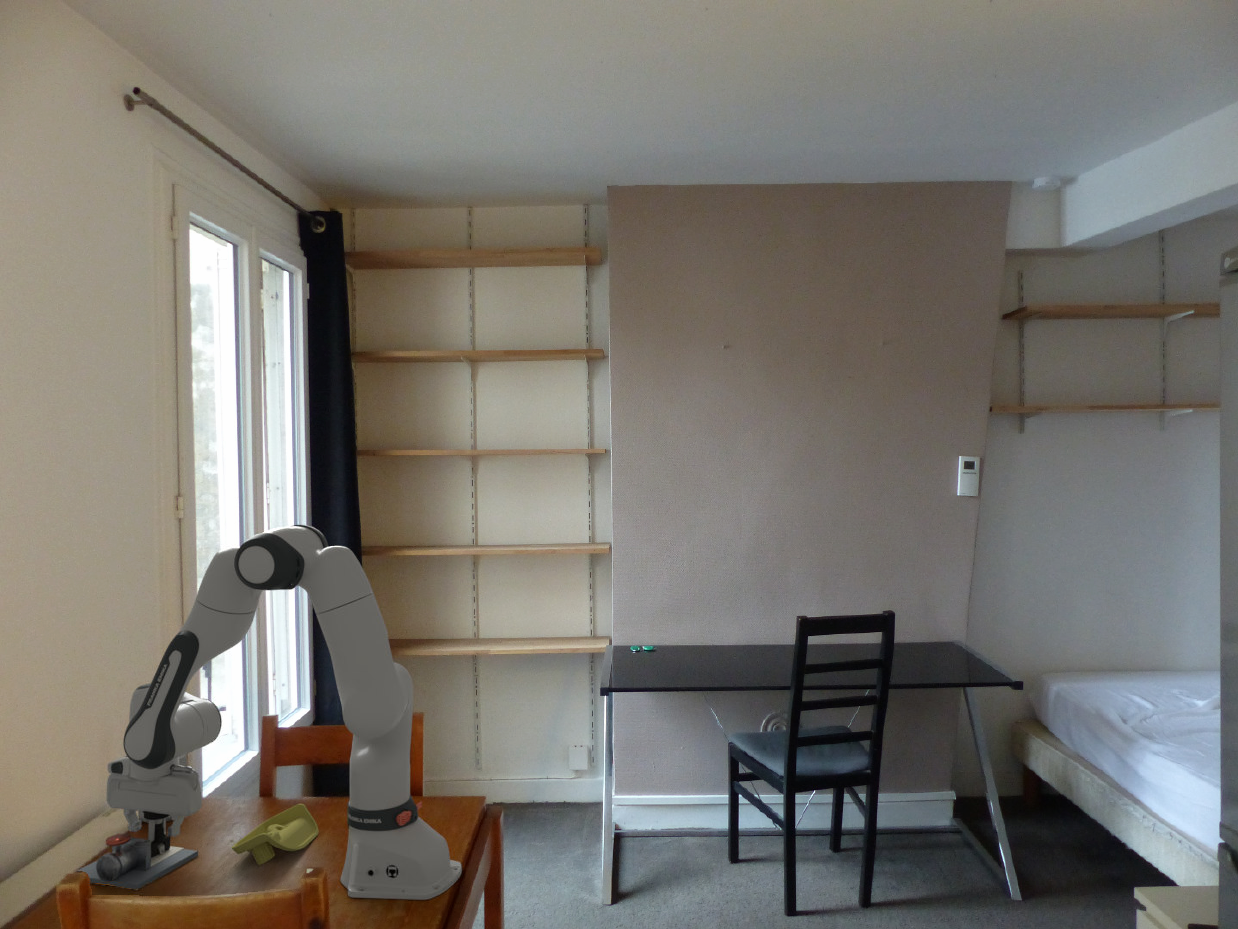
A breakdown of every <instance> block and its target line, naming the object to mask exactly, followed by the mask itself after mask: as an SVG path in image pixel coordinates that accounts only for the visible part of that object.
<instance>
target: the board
mask: <svg viewBox="0 0 1238 929" xmlns="http://www.w3.org/2000/svg"><path fill="white" fill-rule="evenodd" d="M196 856H197V857H198V856H199V850H196V849H195V850H194V849H187V848H184V847H181V846H171V845H170V849H169V850H165V851H164V853H162V854H158V855H156V856H154V857H153V858H151V869H149V870H147V871H142V870H135V869H130V870H128V871H127V872H125V873H123V874H121V875H120V876H119V877H118V878H117V879H115V880H113V881H111V882H105V881H107V880H102V879H101V878H100V877H99V876H98V874H97V870H96V864H97V861H98V859H97V860H95V861H92V863H89V864H87V865H86V866H82V867H81V868H79V869H77V870H75V871H74V872H76V871H83V872H86V873H87V874H88V876H89V878H90V882H91V883H90V884H91V885H93V884H92V883H100V884H101V883H102V884H110V885H114V886H118V887H124V888H131V889H139V888H141V887H142V886H144V885H146V884H147V883H150V884H151V883H153V882H155V881H157V880H158V879H160V878H162V877H164V876H165V875H167V874H169V873H171V872H172V871H174V870H176V869H177V868H180V867H181V866H183V865H184V864H186V863H188V862H189V861H192V860H193V859H195V858H197V857H196ZM191 859H192V860H191ZM159 877H160V878H159ZM157 878H158V879H157ZM156 879H157V880H156ZM154 880H155V881H154ZM152 881H153V882H152ZM146 886H147V885H146ZM118 887H117V888H118ZM144 887H145V886H144ZM124 888H123V889H124ZM131 889H130V890H131ZM141 889H142V888H141ZM139 890H140V889H139Z"/></svg>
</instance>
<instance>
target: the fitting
mask: <svg viewBox="0 0 1238 929" xmlns="http://www.w3.org/2000/svg"><path fill="white" fill-rule="evenodd" d="M105 846H108V847H112V848H111V850H112V851H111V852H107V853H104V854H103V855H101V856H99V858H98V859H97V860H98V861H97V860H96V861H97V864H96V870H97V874H98V876H99V877H100V878H101V879H102V880H107V881H105V882H111V881H113V880H115V879H117V878H118V877H119V876H120V875H121V874H123V873H125V872H127V871H128V870H130V869H135V870H142V871H147V870H149V869H151V840H148V838H147V839H145V838H138V837H132V836H131V834H129V833H117V834H112V835H111V836H109V837H107V838H106V839H105Z"/></svg>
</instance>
